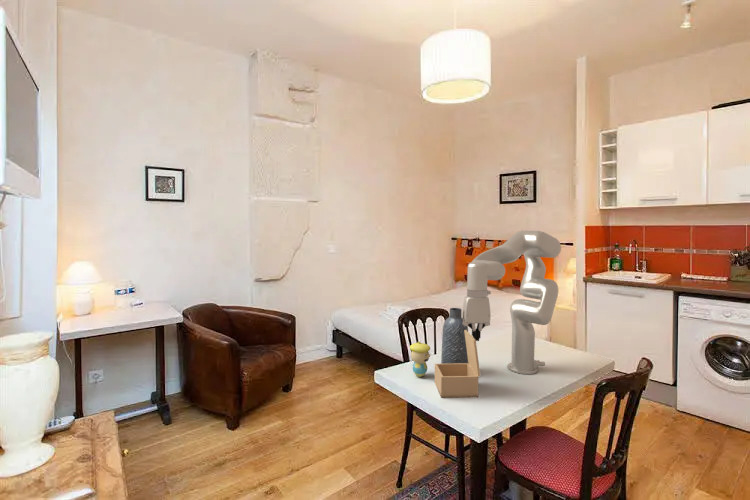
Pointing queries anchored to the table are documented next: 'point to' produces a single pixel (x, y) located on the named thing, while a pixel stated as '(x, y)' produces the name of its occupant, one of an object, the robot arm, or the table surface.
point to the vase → (454, 339)
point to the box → (456, 380)
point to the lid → (472, 352)
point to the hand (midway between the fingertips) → (476, 340)
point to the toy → (420, 358)
